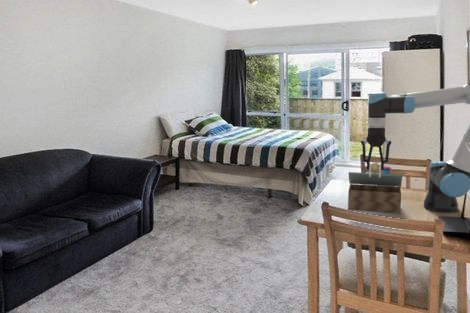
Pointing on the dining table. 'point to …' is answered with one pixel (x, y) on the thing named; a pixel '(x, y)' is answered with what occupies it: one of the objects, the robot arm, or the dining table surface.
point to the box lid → (375, 178)
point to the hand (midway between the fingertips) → (374, 176)
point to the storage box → (374, 198)
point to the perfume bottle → (385, 171)
